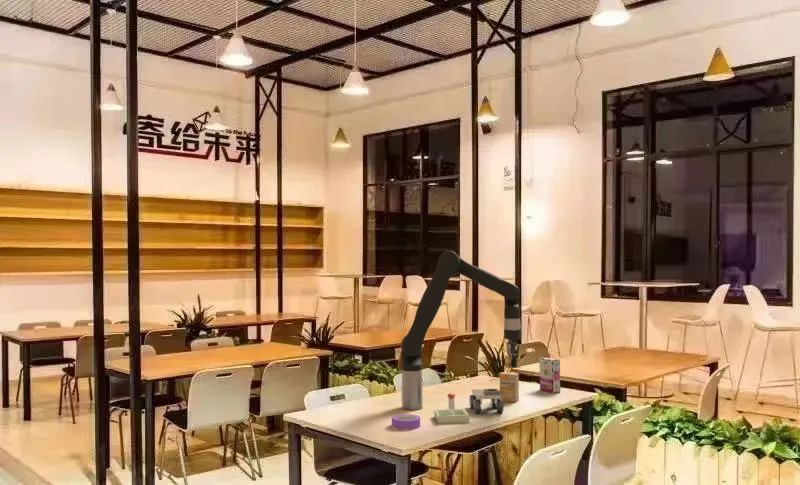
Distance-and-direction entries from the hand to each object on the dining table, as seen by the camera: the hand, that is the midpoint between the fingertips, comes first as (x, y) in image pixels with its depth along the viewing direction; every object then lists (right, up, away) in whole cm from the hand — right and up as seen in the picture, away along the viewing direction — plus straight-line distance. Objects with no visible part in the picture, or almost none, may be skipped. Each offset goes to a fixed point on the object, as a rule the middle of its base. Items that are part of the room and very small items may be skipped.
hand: (512, 366), depth 305 cm
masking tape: (-48, -19, -30) cm, 60 cm away
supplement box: (+1, -20, +16) cm, 25 cm away
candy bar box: (+25, -20, +38) cm, 49 cm away
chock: (0, 0, 0) cm, 0 cm away
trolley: (-12, -19, -4) cm, 23 cm away
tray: (-29, -19, -20) cm, 40 cm away
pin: (-29, -18, -20) cm, 40 cm away
